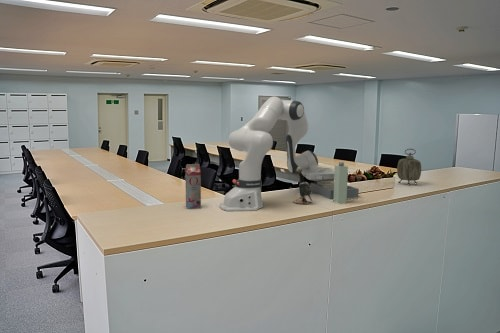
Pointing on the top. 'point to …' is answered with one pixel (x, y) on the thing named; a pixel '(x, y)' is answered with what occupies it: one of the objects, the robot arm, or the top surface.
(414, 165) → the tabletop clock
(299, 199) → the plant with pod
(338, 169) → the drink bottle
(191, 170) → the juice carton
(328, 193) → the tray
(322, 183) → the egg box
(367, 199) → the top surface
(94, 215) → the top surface
